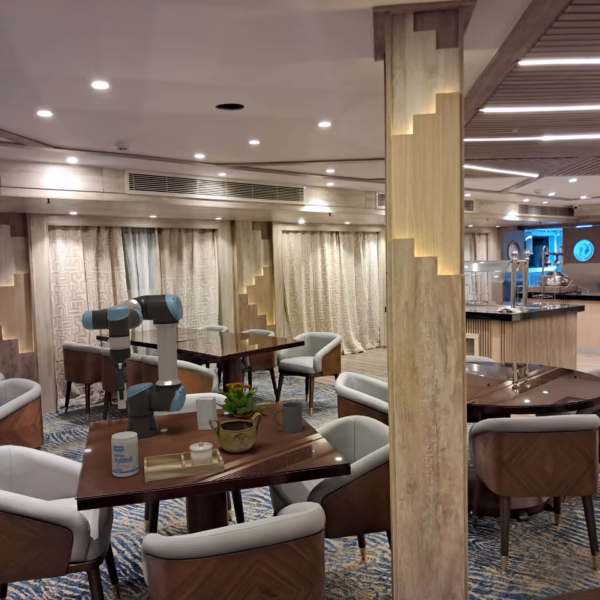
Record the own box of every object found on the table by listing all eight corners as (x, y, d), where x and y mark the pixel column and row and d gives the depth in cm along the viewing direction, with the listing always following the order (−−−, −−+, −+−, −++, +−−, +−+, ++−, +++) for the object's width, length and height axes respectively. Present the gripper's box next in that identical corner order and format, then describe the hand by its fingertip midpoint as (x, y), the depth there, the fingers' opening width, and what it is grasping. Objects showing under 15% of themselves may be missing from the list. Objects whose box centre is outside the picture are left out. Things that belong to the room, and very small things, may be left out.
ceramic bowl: (215, 461, 218) (213, 423, 217) (206, 448, 233) (204, 413, 233) (269, 452, 226) (267, 416, 225) (256, 441, 242) (255, 407, 241)
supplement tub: (113, 479, 202) (111, 440, 201) (111, 471, 210) (109, 433, 209) (141, 474, 206) (139, 436, 205) (137, 466, 214) (135, 429, 213)
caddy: (144, 467, 213) (144, 457, 213) (218, 458, 221) (217, 448, 221) (144, 483, 197) (144, 472, 197) (224, 473, 205) (223, 462, 204)
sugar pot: (189, 463, 214) (188, 439, 213) (211, 460, 216) (210, 437, 216) (191, 471, 206) (190, 446, 205) (214, 468, 208) (213, 443, 207)
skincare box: (217, 426, 265) (216, 396, 264) (213, 430, 259) (212, 399, 258) (201, 426, 267) (200, 396, 266) (196, 430, 261) (195, 399, 260)
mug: (299, 426, 262) (298, 401, 261) (305, 431, 253) (304, 405, 252) (271, 429, 258) (270, 404, 257) (276, 435, 249) (275, 409, 248)
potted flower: (275, 411, 289) (273, 378, 288) (253, 424, 268) (251, 388, 267) (233, 408, 300) (232, 376, 299) (209, 419, 278) (208, 385, 277)
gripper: (110, 344, 216) (113, 397, 217) (107, 353, 192) (110, 413, 193) (130, 343, 218) (133, 396, 219) (129, 351, 194) (132, 411, 195)
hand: (122, 404), depth 206 cm, fingers open, 13 cm apart
